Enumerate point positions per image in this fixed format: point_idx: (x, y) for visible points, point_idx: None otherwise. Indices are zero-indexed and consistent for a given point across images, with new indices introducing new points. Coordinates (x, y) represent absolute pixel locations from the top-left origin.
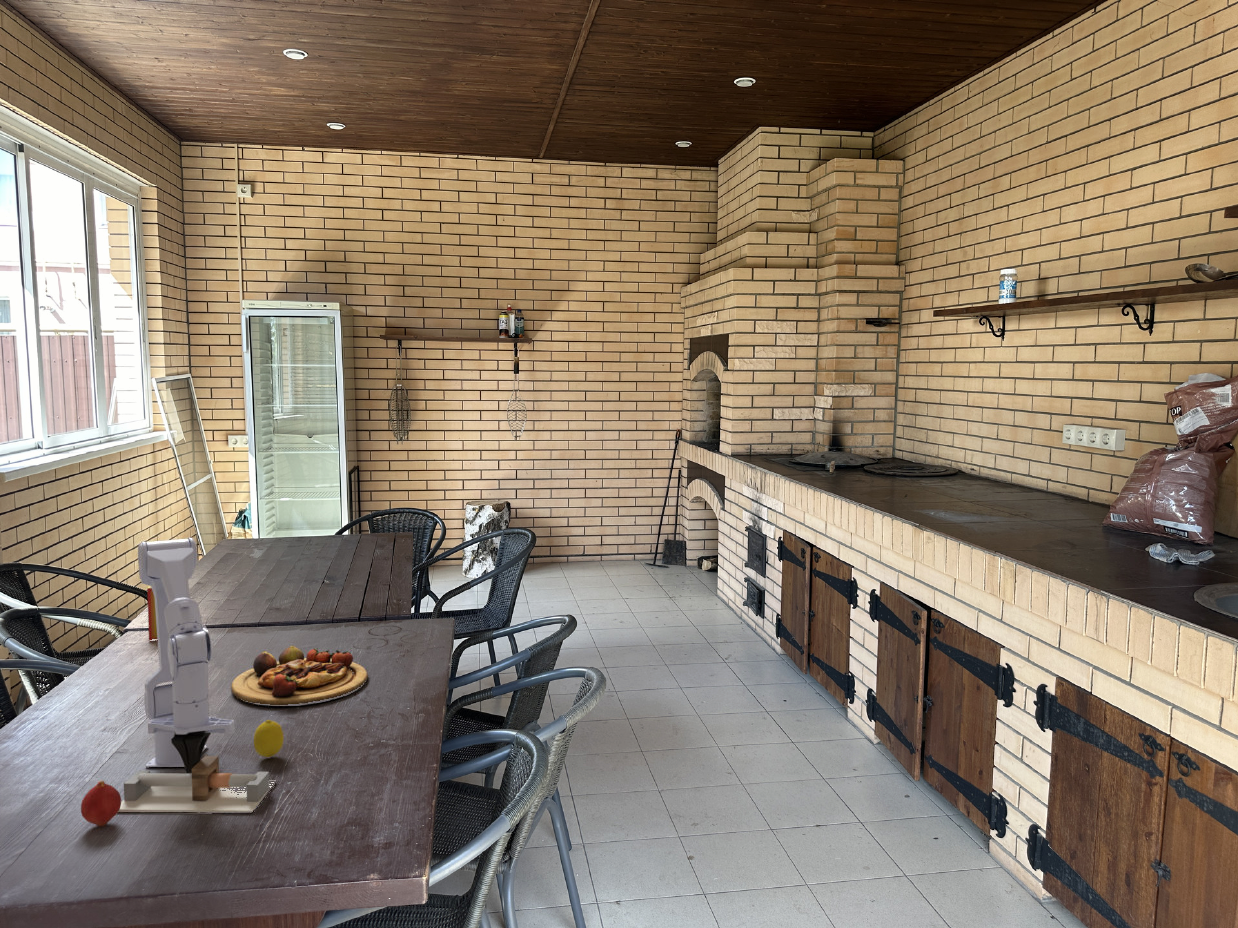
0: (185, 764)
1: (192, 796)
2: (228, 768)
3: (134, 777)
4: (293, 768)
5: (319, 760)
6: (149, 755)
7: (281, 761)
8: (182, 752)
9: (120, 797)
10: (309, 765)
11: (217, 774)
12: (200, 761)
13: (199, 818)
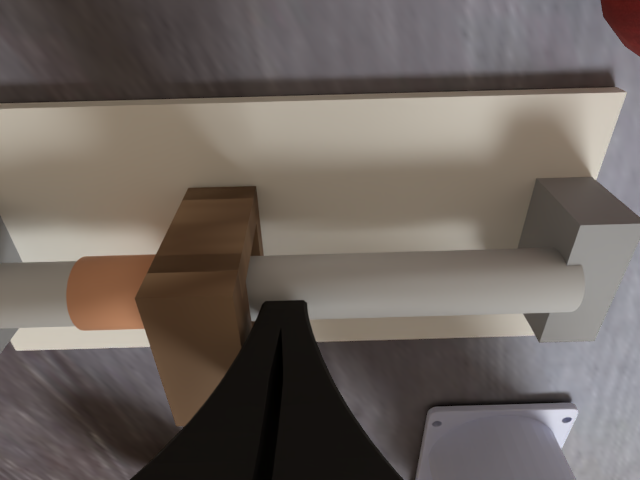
0: (301, 333)
1: (253, 195)
2: None
3: (600, 282)
4: (50, 421)
5: (5, 460)
6: (581, 456)
7: (127, 450)
8: (313, 405)
9: (636, 5)
10: (11, 437)
11: None
12: None
13: (136, 45)
